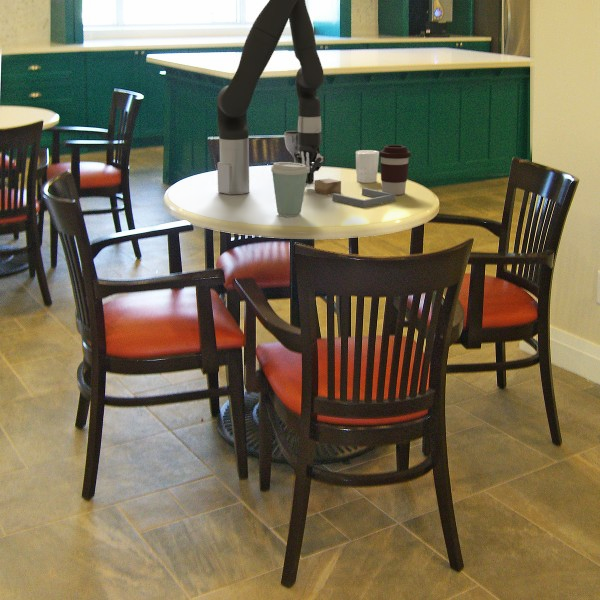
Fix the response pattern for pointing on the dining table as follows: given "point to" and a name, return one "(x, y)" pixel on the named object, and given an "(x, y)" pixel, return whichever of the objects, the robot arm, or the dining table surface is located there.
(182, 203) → the dining table surface
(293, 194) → the disposable coffee cup
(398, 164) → the coffee cup
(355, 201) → the grey corral
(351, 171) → the dining table surface
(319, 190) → the walnut block
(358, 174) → the white cup
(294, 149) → the wine glass
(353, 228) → the dining table surface
